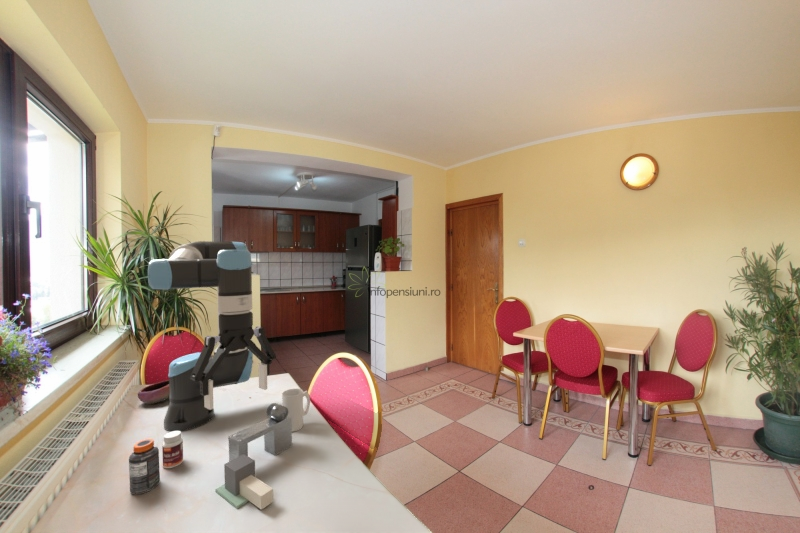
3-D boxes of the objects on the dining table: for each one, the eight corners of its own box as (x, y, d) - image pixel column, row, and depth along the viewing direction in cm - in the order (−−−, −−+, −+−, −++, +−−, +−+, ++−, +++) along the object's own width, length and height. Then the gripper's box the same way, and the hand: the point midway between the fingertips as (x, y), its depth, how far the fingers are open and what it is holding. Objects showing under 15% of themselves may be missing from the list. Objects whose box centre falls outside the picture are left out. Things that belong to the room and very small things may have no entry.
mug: (289, 434, 105) (288, 398, 105) (279, 428, 109) (278, 392, 109) (315, 422, 113) (315, 388, 112) (305, 417, 117) (304, 384, 117)
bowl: (146, 411, 124) (146, 390, 124) (133, 404, 131) (132, 384, 131) (191, 396, 138) (191, 377, 138) (176, 390, 145) (176, 372, 145)
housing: (229, 469, 88) (228, 421, 88) (282, 441, 101) (281, 399, 101) (239, 475, 85) (238, 426, 85) (292, 445, 98) (291, 403, 98)
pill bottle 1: (153, 476, 85) (152, 433, 85) (164, 483, 82) (163, 439, 82) (125, 490, 80) (124, 445, 80) (136, 498, 77) (134, 451, 77)
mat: (215, 491, 79) (215, 489, 79) (246, 473, 86) (246, 471, 86) (237, 508, 73) (237, 506, 73) (268, 488, 80) (268, 485, 80)
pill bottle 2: (161, 471, 87) (160, 440, 87) (164, 461, 92) (163, 432, 92) (182, 465, 90) (181, 435, 90) (184, 456, 94) (183, 428, 94)
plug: (222, 486, 80) (222, 462, 80) (242, 475, 84) (241, 452, 84) (257, 512, 71) (256, 485, 71) (277, 498, 75) (276, 473, 75)
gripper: (186, 321, 67) (189, 422, 67) (288, 306, 88) (290, 384, 88) (171, 318, 71) (173, 413, 72) (272, 305, 92) (273, 379, 92)
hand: (237, 397), depth 80 cm, fingers open, 13 cm apart
